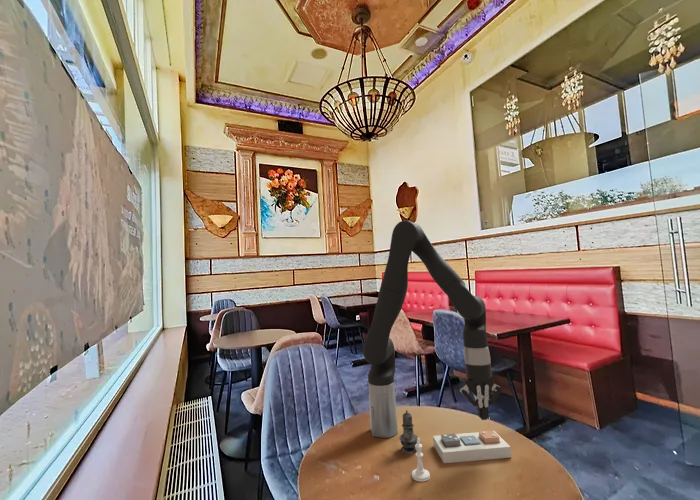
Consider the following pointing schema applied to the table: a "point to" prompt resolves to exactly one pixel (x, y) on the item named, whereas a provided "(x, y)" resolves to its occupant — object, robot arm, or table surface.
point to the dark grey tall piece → (408, 435)
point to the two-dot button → (489, 437)
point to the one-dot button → (469, 440)
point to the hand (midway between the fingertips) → (483, 418)
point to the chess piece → (420, 466)
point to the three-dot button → (450, 440)
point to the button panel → (471, 450)
